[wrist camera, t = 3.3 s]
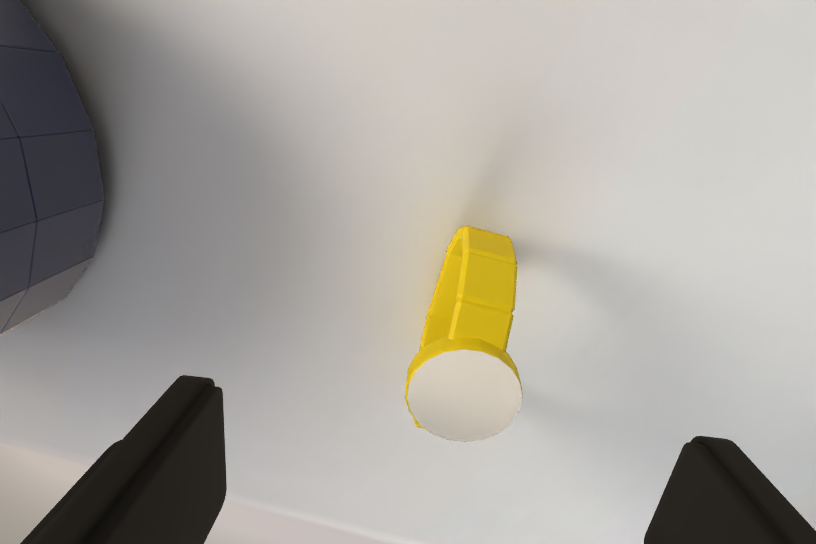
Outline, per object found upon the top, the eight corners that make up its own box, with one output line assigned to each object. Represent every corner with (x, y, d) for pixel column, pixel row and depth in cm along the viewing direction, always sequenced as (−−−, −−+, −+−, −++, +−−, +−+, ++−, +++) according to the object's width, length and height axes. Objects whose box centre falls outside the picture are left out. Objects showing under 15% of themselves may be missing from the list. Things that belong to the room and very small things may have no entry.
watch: (439, 199, 15) (443, 263, 9) (520, 220, 15) (571, 295, 9) (397, 349, 17) (380, 473, 11) (467, 366, 17) (483, 496, 11)
